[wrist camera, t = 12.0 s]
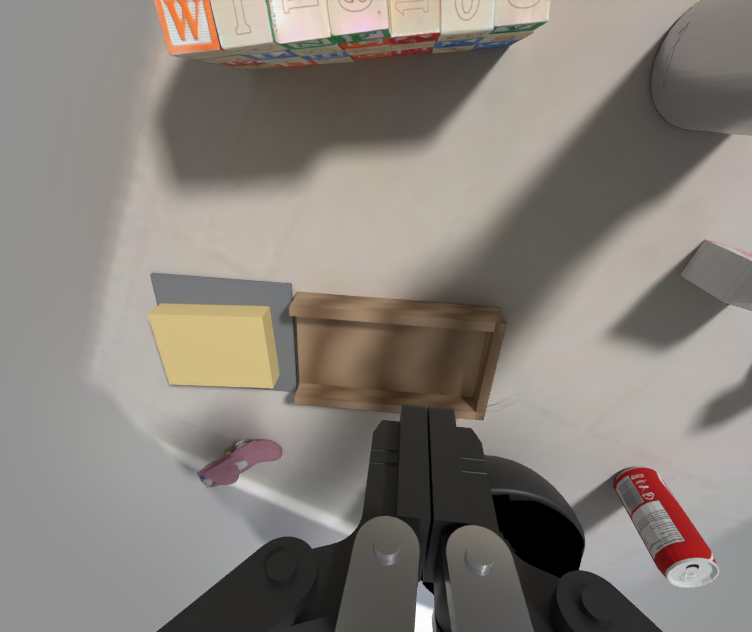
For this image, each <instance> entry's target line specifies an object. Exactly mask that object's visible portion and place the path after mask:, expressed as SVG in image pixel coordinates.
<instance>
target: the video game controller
mask: <svg viewBox="0 0 752 632" xmlns="http://www.w3.org/2000/svg"><path fill="white" fill-rule="evenodd" d="M244 441H245V440H241V441H239V442H237V444H236V445H235V446H237V445H238V447H237V449H235V450H234V451H233V452H231V450H229V451H227V452H226V453H225V454H226V456H224V457H222V458H221V459H219V460H217V461H213V462H211V463H210V464H208V465H206V466H205V467H204V468H203V469H202V470H201V471H199V472H198V473H197V474H198V476H199V477H200V479H201V481H202V482H203V483H204V484H205V485H207V488H208V487H214V486H217V485H228V484H232V483H234V482H236V481H237V480H238V478H239V474H240V473H242V472H244V471H245V470H247V469H248V468H250V467H251V466H253V465H254V464H256V463H259V462H264V461H275V460H278V459H279V458H280V457H281V455H282V449H281V447H280V446H279V445H278V444H277V443H275V442H273V441H270V440H253V441H251V442H247V443H242V442H244Z"/></svg>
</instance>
